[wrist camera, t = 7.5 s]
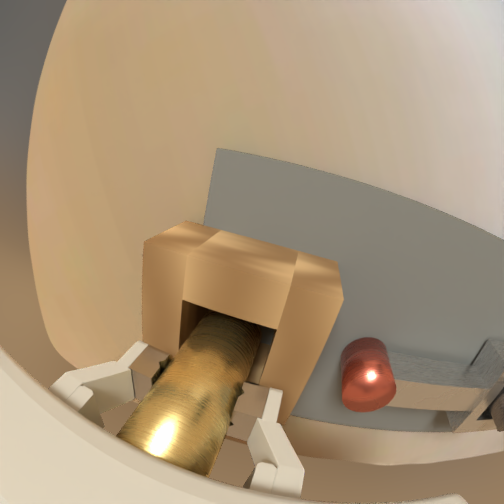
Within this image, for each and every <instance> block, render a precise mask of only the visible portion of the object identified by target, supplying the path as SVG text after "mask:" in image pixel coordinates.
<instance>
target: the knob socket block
mask: <svg viewBox="0 0 504 504" xmlns="http://www.w3.org/2000/svg"><path fill="white" fill-rule="evenodd" d="M341 379H342V402H343V404H344V405H345V407H347V408H348V409H349V410H352V411H355V412H371V411H375V410H378V409H380V408H382V407H384V406H393V407H402V408H413V409H426V410H446V413H447V416H448V419H449V423H450V426H451V429H452V433H460V432H474V431H484V430H493V429H497V428H496V426H495V423H494V421H493V418H492V416H491V414H490V411H489V409H488V406H489V405H490V404H491V402H492V401H493V400H494V399H495V397H496V396H497V395H498V394H499V392H500V391H501V390H502V389H503V387H504V342H501V341H497V340H492V339H488V340H487V342H486V344H485V345H484V347H483V349H482V350H481V352H480V354H479V355H478V357H477V358H476V360H475V361H474V363H473V364H472V365H467V364H460V363H453V362H446V361H440V360H434V359H428V358H422V357H417V356H411V355H406V354H401V353H396V352H391V351H387V349H386V346H385V344H384V343H383V342H382V341H380V340H379V339H376V338H372V337H364V338H360V339H357V340H354V341H352V342H351V343H349V344H348V345H347V346H346V347H345V348H344V350H343V351H342V354H341Z"/></svg>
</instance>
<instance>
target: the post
mask: <svg viewBox="0 0 504 504" xmlns="http://www.w3.org/2000/svg"><path fill="white" fill-rule="evenodd" d="M488 409H489V411H490V414H491V416H492V418H493V421H494V423H495V426H496V428H497V431H499V432H500V431H504V387H503V389H502V390H501V391H500V392H499V394H498V395H497V396H496V397H495V399H494V400H493V401H492V402H491V404H490V405H489V406H488Z"/></svg>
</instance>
